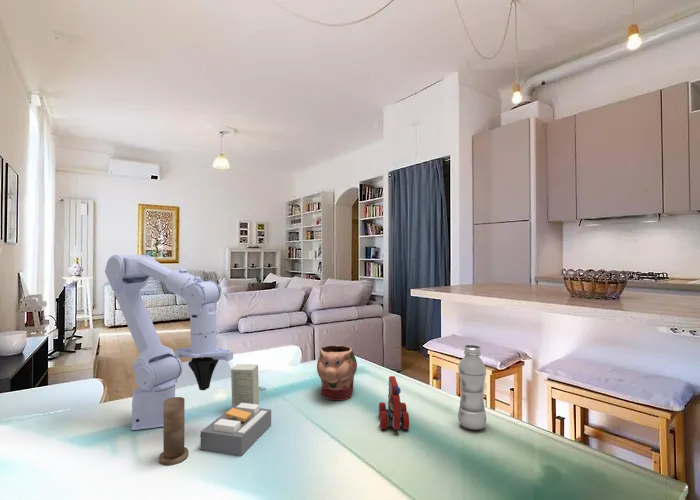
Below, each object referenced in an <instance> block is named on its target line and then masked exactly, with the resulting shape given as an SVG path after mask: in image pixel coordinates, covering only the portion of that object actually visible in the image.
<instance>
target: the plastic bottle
mask: <svg viewBox="0 0 700 500" xmlns="http://www.w3.org/2000/svg"><path fill="white" fill-rule="evenodd" d="M463 354H464V356H463V357H462V359H461V360H460V361H459V363H458V367H457V368H458V376H459V383H460V384H459V386H460V396H459V397H460V398H459V407H458V414H457V417H458V422H459V423H460V425H461V426H462V427H463V428H465V429H467V430H471V431H472V430H473V431H481V430H483V429H484V428H485V426H486V425H487V412H486V409H485V398H484V393H485V392H484V390H485V381H486V376H487V375H486V373H487V367H486V365H485V363H484V361H483V359H481V358H482V357H480V356H481V346H479V345H475V344H466V345H464V351H463Z"/></svg>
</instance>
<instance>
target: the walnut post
mask: <svg viewBox="0 0 700 500" xmlns="http://www.w3.org/2000/svg"><path fill="white" fill-rule="evenodd" d="M185 402H186V401H185V398H184V397H182V396H175V397H173V398H169V399H167V400H165V401H164V408H163V427H162V428H163V429H162V430H163V431H162V432H163V433H162V434H163V437H162V438H163V443H162V445H163V446H162V447H163V450H162V452H161V453H160V454H159V456H158V462H159V464H161V466H162V465H163V466H175V465H178V464H181V463H182V462H184V461H186V460H187V459H188V457H189V456H190V455H189V449H188V447H185V417H186V416H185V413H186V412H185V407H186V406H185V405H186V404H185Z"/></svg>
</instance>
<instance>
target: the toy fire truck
mask: <svg viewBox="0 0 700 500" xmlns="http://www.w3.org/2000/svg"><path fill="white" fill-rule="evenodd" d="M401 392H402V391H401V388H400V386H399V384H398V381H397V379H396V376H395V375H394V376H393V375H391V376H389V377H388V394H387V399H388V401H387V402H388V403H387V407H388V408H387V407H386V402H384V401H383V402H378V417H379V418H378V419H379V428H380V430H387V429H388V427H391V426H392V428H393V430H400V429H402V430H409V428H410V415H409V411H407V404H406V403H405V402H401V396H400V394H401Z"/></svg>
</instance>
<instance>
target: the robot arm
mask: <svg viewBox="0 0 700 500" xmlns="http://www.w3.org/2000/svg"><path fill="white" fill-rule="evenodd" d="M105 266H106V267H105V271H104V273H105V276H106V278H107V280H108V282H109V285H110V288H111V289H112V291H113V292H114V296H115V299H116V300H117V303H118V307H119V309H120V311H121V313H122V316H123V318H124V319H125V322H126V325H127V328H128V330H129V332H130V334H131V337H132V340H133V341H134V344H135V347H136V349H137V351H138V353H139V355H138V356H137V357H136V359H135V361H134V362H133V364H132V368H133V370H134V371H133V372H134V378H135V379H134V381H135V383H136V385H137V386H138V387H136V388H135V389H134V391H133V394H132V400H131V431H137V430H147V429H155V428H163V408H164V401H165V400H167V399H169V398H173V397H176V384H177V383H178V379H179V378H180V377H181V375H182V373H183V364H182V361H181V359H180V358H184V359H186V358H188V359H191V360H190V361H188V367H189V368H190V369H191V371H192V372H193V374H194V377H195V379H196V382H197V385H198V386H197V387H198V389H199V391H206V390H208V389H210V386H211V381H212V378H213V373H214V371H215V369H216V367H217V364H218V363H219V360H220V361H225V362H229V361H231V360H233V359H234V350H228V349H223V348H218V347H217V312H216V311H217V310H216V309H217V306H216V305H217V303H218V302H219V301H220V299H221V295H222V291H221V287H220V286H219V284H218V283H217V282H215V281H214V280H212V279H211V280H206V281H204V280H202V277H201V276H196V275H195V276H194V275H193V274H190V273H188V269H185V268H179V269H174V270H172V269H170V268H169V267H167V266H165V265H164V264H162V263H160V262H159V261H157V260H156V258H155V257H154V256H150V255H148V254H145V253H144V254H133V255H132V254H131V255H129V254H128V255H126V254H125V255H119V254H113V255H111V256H110V257H109V258H108V260H107V262H106V265H105ZM150 278H152V279H155V280H157V281H159V282H161V283H164V285H165V288H166V289H167V290H168V291H169V292H170V293H173V294H175V295H177V296H179V297H180V298H183V301H184V302H185V304H186V306H187V312H188V314H189V318H190V322H189V323H190V324H189V325H190V326H189V327H190V329H189V330H190V347H180V348H177V349H173V348H171V347H168V346H166V345H163V343H162V342H161V340H160V337H159V334H158V332H157V330H156V328H155V326H154V323H153V320H152V318H151V316H150V314H149V311H148V309H147V307H146V305H145V303H144V300H143V297H142V295H141V290H142V289H144V288H145V286H146V285H147V283H148V281H149V280H150Z"/></svg>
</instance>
